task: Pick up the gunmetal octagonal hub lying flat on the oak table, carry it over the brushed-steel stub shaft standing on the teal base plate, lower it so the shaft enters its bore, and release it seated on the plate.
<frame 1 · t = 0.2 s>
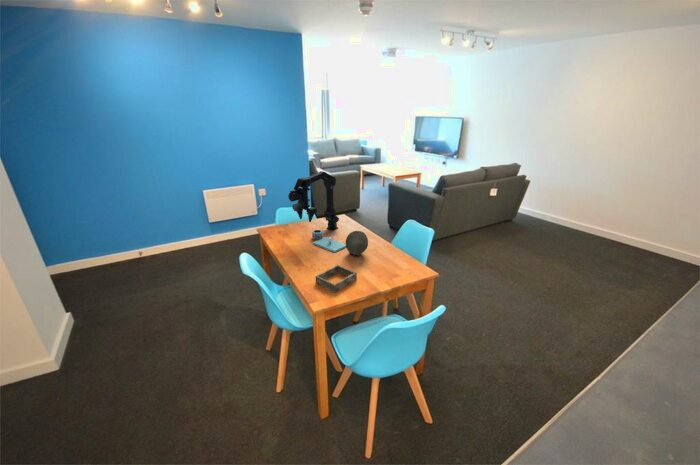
hand: (305, 220, 201), 14 cm above the table, fingers open, 9 cm apart
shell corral: (336, 281, 155), on the table
hub: (317, 238, 208), on the table
shaft base: (330, 245, 197), on the table
dark grey ball: (356, 254, 184), on the table
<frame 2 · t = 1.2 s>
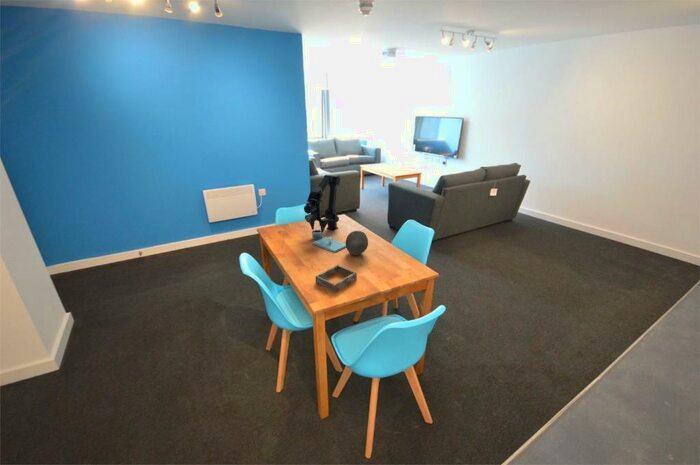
hand: (317, 231, 206), 5 cm above the table, fingers open, 9 cm apart
nothing on the table moved.
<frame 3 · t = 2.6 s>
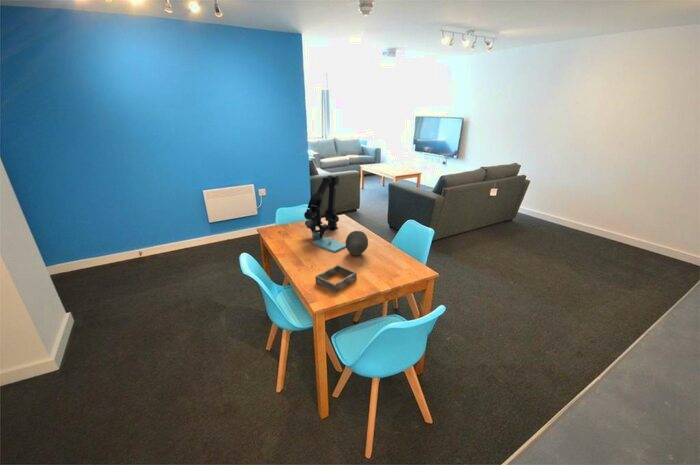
hand: (317, 236, 208), 1 cm above the table, fingers closed on hub, 7 cm apart
hub: (317, 238, 208), on the table, touching gripper
everything else where it was.
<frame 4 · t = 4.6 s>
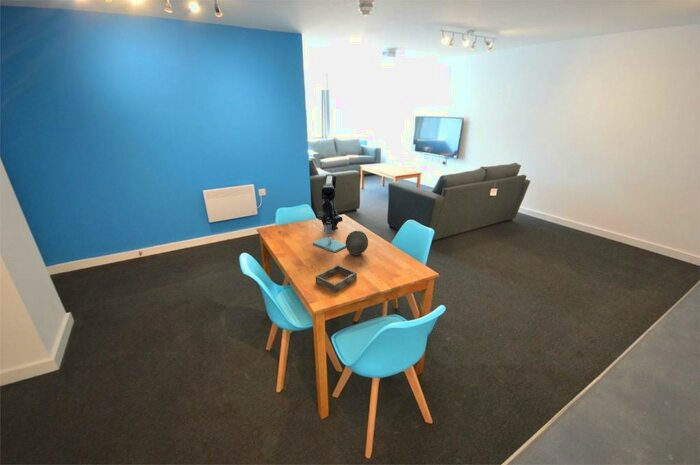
hand: (329, 229, 193), 11 cm above the table, fingers closed on hub, 7 cm apart
hub: (329, 231, 193), point 10 cm above the table, touching gripper
everything else where it was.
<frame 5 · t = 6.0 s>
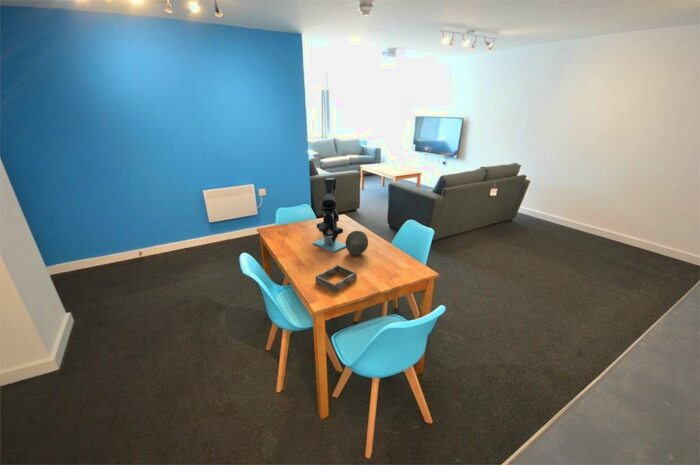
hand: (329, 240, 196), 3 cm above the table, fingers closed on hub, 7 cm apart
hub: (329, 241, 196), point 2 cm above the table, touching gripper
everything else where it was.
when the fingers open (3 cm above the table, at t = 6.9 s): hub drops 1 cm, resting on shaft base.
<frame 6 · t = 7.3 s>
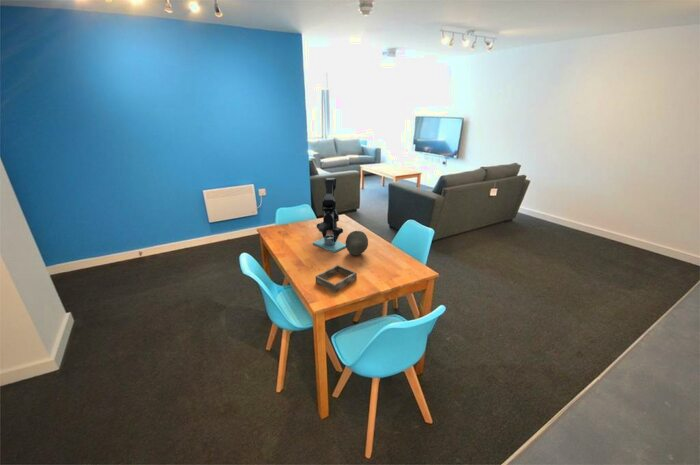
hand: (329, 240, 195), 3 cm above the table, fingers open, 9 cm apart
hub: (329, 243, 196), point 1 cm above the table, touching shaft base
everything else where it was.
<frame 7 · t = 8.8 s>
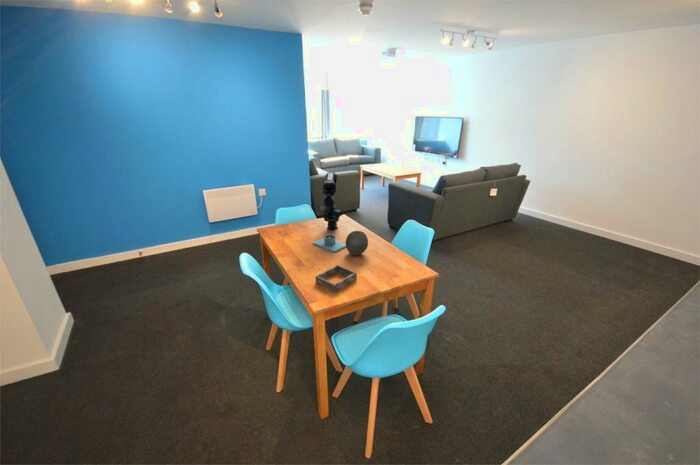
hand: (330, 222, 203), 12 cm above the table, fingers open, 9 cm apart
nothing on the table moved.
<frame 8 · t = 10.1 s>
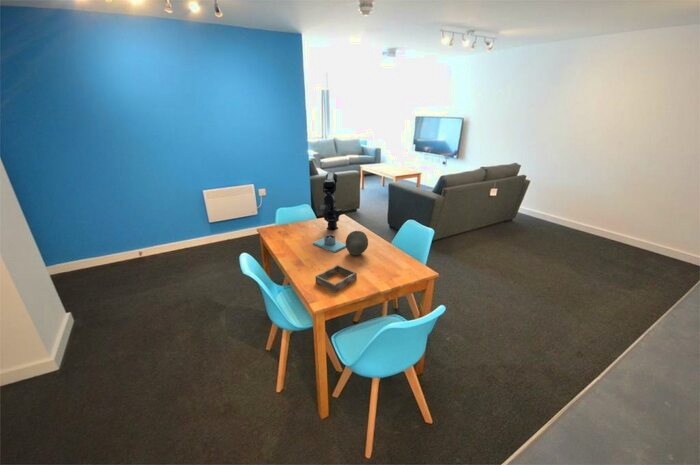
hand: (330, 221, 203), 12 cm above the table, fingers open, 9 cm apart
nothing on the table moved.
at the end: hub 0.0 cm off-centre on the shaft base, point 1.2 cm above the shaft base's base; hub tilted 0°; the gripper is holding nothing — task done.
